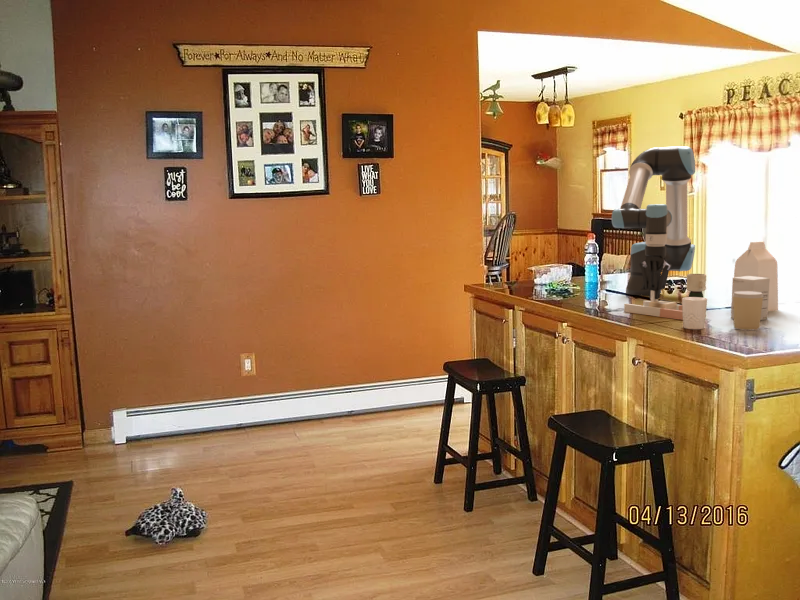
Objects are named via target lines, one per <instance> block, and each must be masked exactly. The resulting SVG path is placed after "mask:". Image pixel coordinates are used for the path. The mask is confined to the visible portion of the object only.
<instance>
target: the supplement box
mask: <svg viewBox="0 0 800 600" xmlns="http://www.w3.org/2000/svg"><path fill="white" fill-rule="evenodd" d="M769 281H770V278H763V277H754V276H743V277H734V276H733V277H732V285H731V287H732V288H731V289H732V290H731V303H732V305H731V306H730V319H733V320H734V308H733V294H734V292H736V291H755V292H761V293H763V301H762V310H761V318H760V321H764V320H768V318H769V317H768V314H769V311H768V298H769Z"/></svg>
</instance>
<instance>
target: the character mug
mask: <svg viewBox="0 0 800 600" xmlns="http://www.w3.org/2000/svg"><path fill="white" fill-rule="evenodd" d="M706 283H707V274H705V273H687V275H686V291H688V292H689V294H688V297H701V298H704V293H703V292H705V291H706V290H707V286H706Z"/></svg>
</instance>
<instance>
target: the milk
mask: <svg viewBox="0 0 800 600" xmlns="http://www.w3.org/2000/svg"><path fill="white" fill-rule="evenodd" d="M733 272H734V274H733V278H734V277H743V276H754V277H763V278H770V281H769V298H768V312H773V311H774V312H775V311H778V310H779V295H778V294H779V292H778V291H779V287H778V286H779V283H778V281H779V279H778V262H777V259H776V258H775V256H773V255H772V254H771V253H770V252H769V251H768V250H767V249H766V245H765V241H762V240H761V241H750V243H749V245H748V248H747V250H745V251H744V252H743V253H742V254H741V255H740V256H739V257H737V259H736V261H735V263H734V271H733ZM731 305H732V302H731Z"/></svg>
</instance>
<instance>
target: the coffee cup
mask: <svg viewBox="0 0 800 600" xmlns="http://www.w3.org/2000/svg"><path fill="white" fill-rule="evenodd" d="M762 301H763V293H761V292H755V291H736V292H734V294H733V308H734V319H733V328H735V329H737V330H740V331H741V330H742V331H758V330H759V329H760V326H761V325H760V324H761V320H760V318H761V310H762Z"/></svg>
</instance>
